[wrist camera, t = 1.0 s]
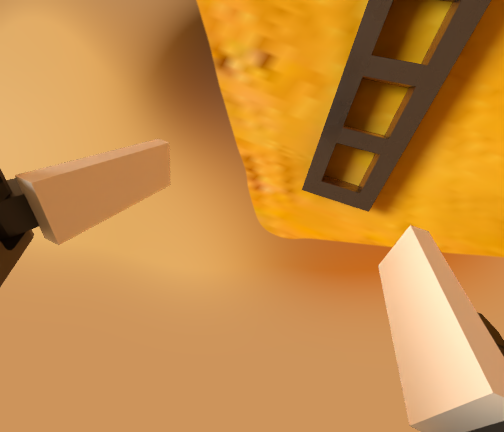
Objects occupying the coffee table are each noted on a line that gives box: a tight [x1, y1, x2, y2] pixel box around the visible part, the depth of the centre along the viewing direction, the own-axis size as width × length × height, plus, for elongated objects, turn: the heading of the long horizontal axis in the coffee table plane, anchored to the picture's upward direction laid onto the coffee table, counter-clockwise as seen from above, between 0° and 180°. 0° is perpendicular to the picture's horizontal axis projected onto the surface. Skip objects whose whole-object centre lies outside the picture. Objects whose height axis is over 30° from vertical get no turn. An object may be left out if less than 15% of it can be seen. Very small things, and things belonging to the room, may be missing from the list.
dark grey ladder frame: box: [302, 0, 491, 212], centre depth 26 cm, size 25×10×3 cm, turn 166°
